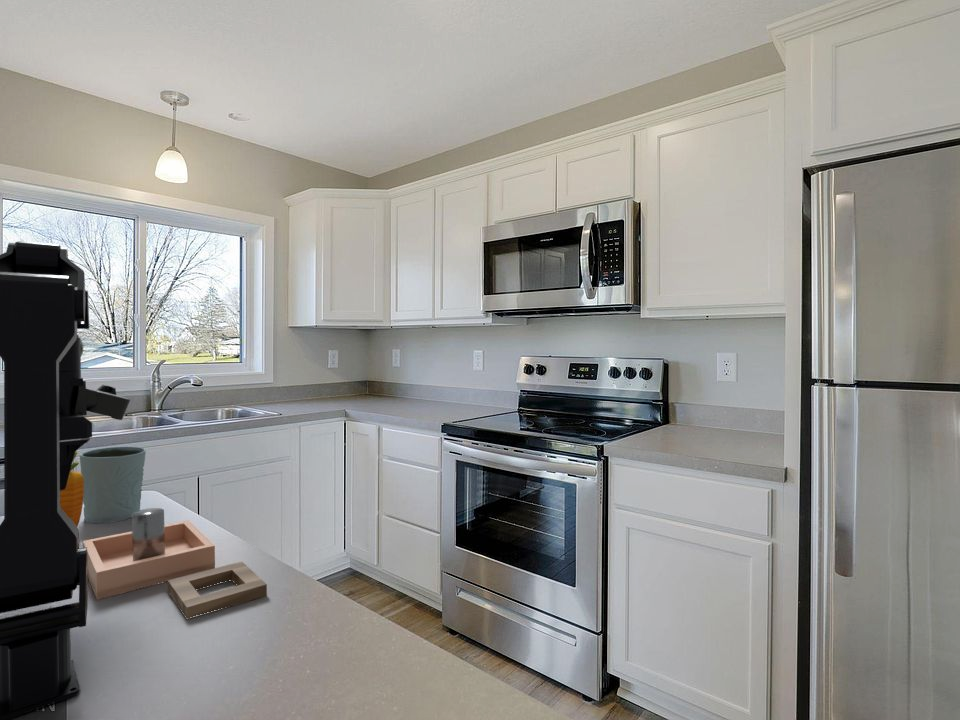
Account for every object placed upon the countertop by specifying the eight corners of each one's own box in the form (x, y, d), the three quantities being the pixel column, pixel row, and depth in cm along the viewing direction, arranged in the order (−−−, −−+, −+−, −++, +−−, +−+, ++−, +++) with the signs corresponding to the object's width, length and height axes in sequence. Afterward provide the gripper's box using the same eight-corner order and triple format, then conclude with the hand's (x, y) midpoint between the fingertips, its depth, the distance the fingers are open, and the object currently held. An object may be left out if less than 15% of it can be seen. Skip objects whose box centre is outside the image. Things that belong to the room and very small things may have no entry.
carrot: (40, 544, 86) (38, 451, 86) (75, 534, 91) (74, 446, 90) (56, 550, 84) (55, 454, 83) (91, 540, 88) (90, 449, 88)
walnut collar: (266, 595, 70) (266, 584, 70) (186, 619, 64) (186, 607, 64) (242, 571, 77) (242, 561, 77) (167, 591, 71) (167, 580, 71)
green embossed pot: (74, 515, 101) (73, 451, 100) (136, 503, 108) (136, 443, 108) (88, 528, 94) (87, 460, 93) (153, 515, 101) (153, 451, 101)
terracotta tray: (214, 569, 78) (214, 545, 78) (96, 599, 69) (96, 572, 69) (188, 541, 89) (188, 520, 88) (83, 564, 79) (83, 540, 79)
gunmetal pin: (168, 560, 79) (167, 512, 78) (136, 568, 76) (134, 519, 75) (161, 551, 81) (160, 506, 81) (130, 559, 79) (128, 512, 78)
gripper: (136, 372, 73) (138, 487, 74) (113, 366, 87) (115, 462, 87) (29, 375, 66) (32, 502, 66) (23, 367, 79) (25, 473, 80)
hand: (57, 482), depth 75 cm, fingers open, 9 cm apart
